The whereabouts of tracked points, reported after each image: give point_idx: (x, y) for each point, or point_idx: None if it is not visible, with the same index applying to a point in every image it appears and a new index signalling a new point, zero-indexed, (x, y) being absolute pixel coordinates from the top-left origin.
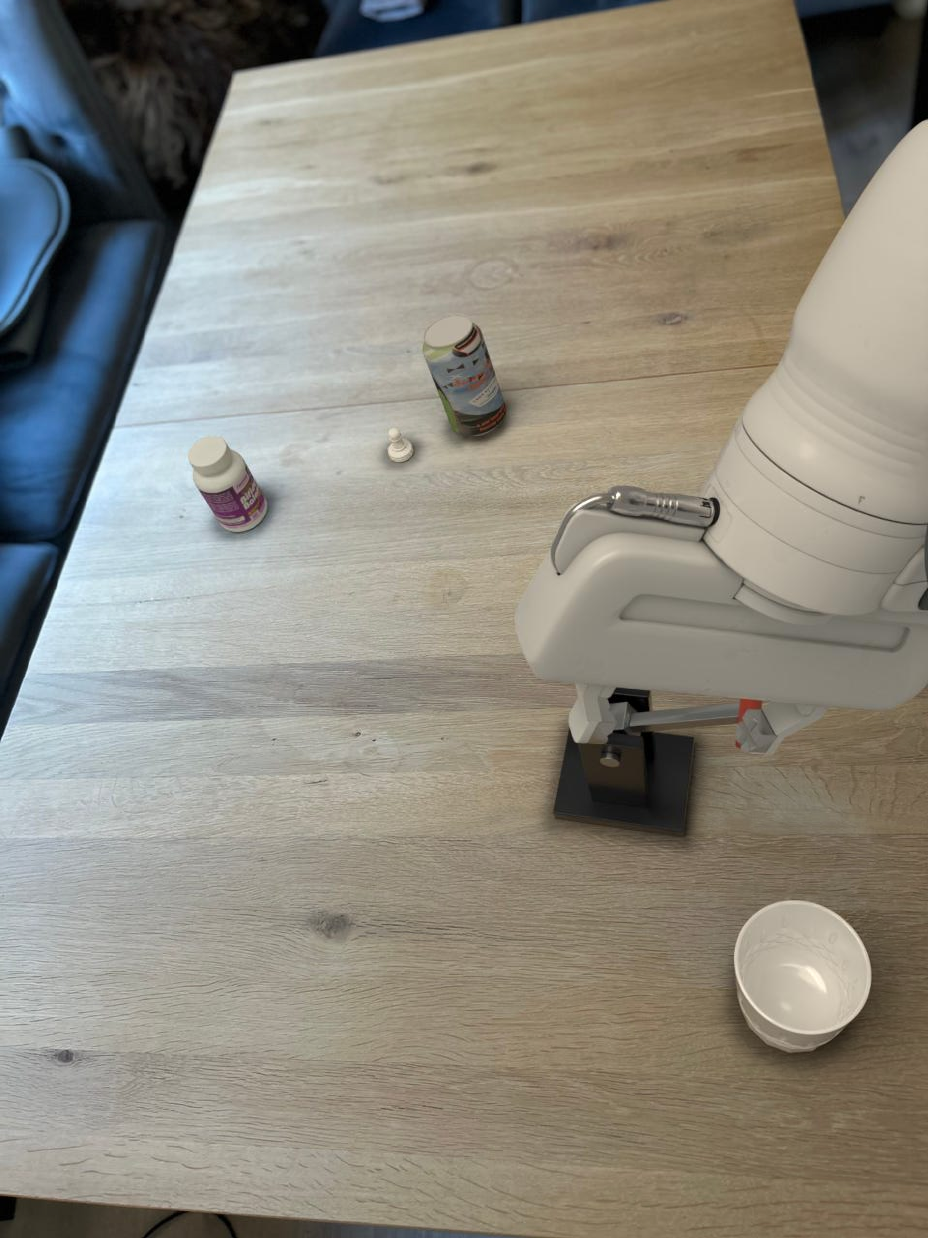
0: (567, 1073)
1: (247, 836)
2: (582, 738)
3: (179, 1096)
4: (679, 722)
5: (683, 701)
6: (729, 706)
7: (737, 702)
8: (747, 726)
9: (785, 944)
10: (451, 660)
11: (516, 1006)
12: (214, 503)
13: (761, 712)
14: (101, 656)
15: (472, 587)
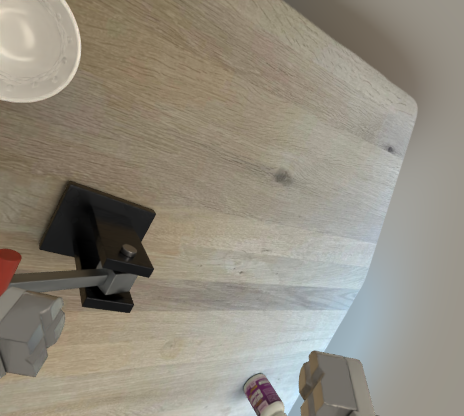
0: (196, 52)
1: (301, 229)
2: (361, 371)
3: (363, 117)
4: (68, 278)
5: None
6: None
7: None
8: (43, 345)
9: (10, 75)
10: (182, 308)
11: (211, 104)
12: (274, 393)
13: (8, 368)
14: (325, 316)
15: (157, 349)
